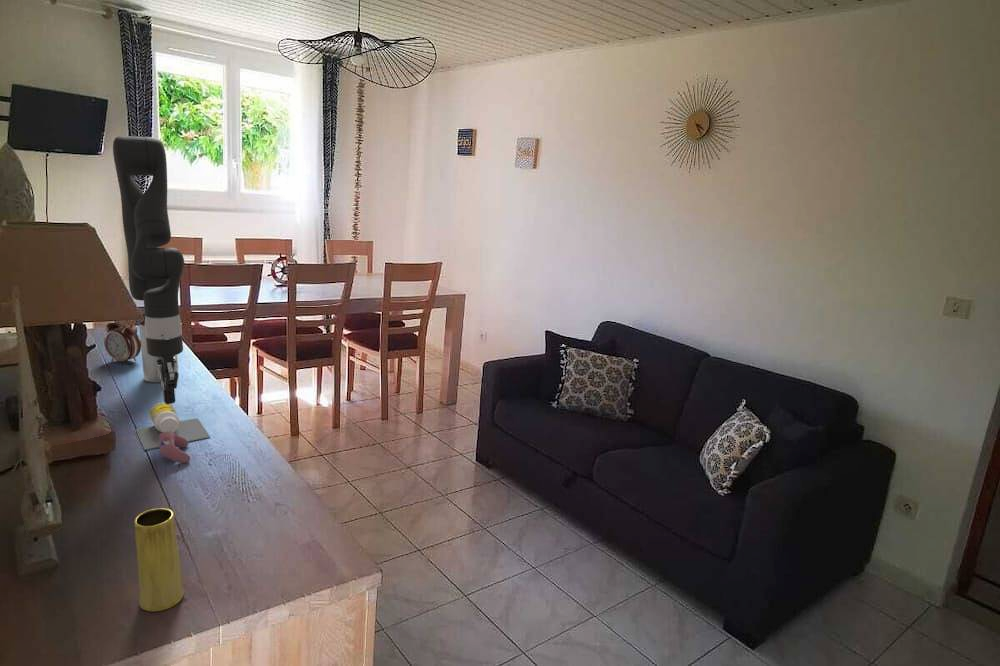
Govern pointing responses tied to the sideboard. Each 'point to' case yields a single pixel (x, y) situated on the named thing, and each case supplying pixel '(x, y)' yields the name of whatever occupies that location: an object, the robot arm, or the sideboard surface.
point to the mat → (185, 429)
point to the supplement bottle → (164, 417)
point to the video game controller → (173, 446)
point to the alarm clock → (122, 341)
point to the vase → (158, 560)
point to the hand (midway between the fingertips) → (169, 402)
